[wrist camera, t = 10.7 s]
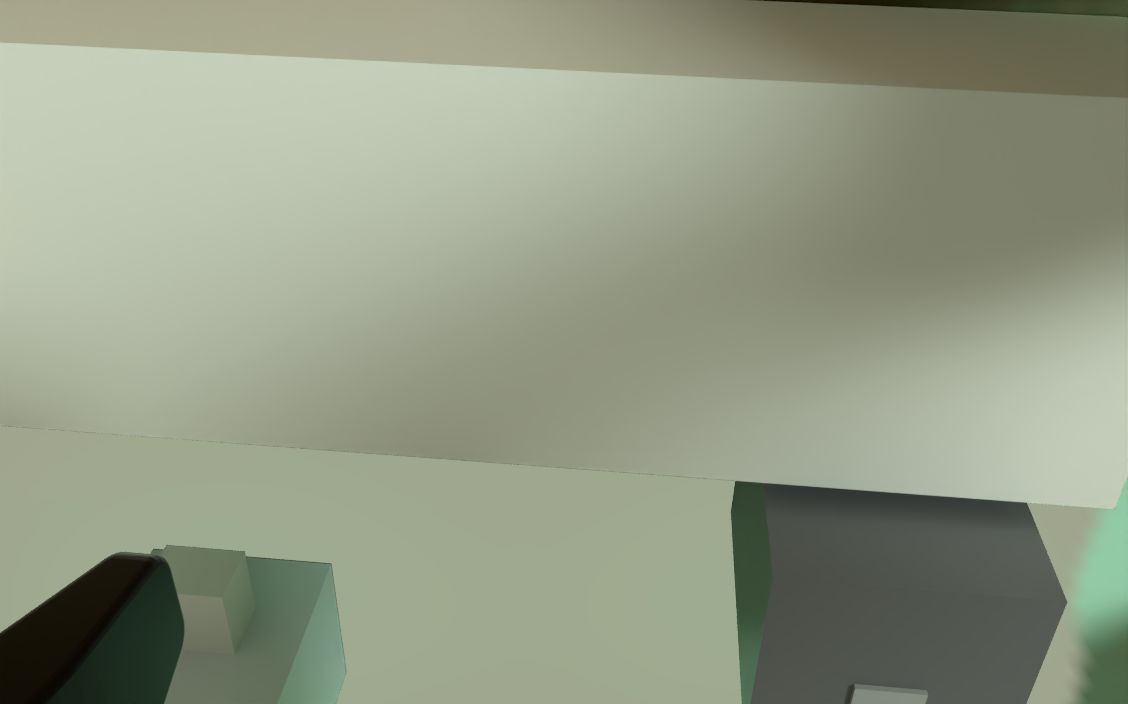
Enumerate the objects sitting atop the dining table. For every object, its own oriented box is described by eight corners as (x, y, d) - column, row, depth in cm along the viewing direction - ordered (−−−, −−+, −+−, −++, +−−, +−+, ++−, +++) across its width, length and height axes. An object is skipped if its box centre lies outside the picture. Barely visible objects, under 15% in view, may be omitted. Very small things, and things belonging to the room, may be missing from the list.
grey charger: (324, 508, 25) (232, 726, 20) (346, 671, 28) (272, 896, 23) (138, 493, 25) (2, 704, 20) (182, 657, 28) (73, 875, 23)
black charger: (999, 303, 20) (1104, 519, 15) (934, 526, 23) (1003, 767, 18) (762, 288, 21) (789, 494, 15) (730, 511, 24) (744, 743, 19)
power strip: (1162, 18, 17) (1294, 116, 13) (1045, 374, 21) (1122, 525, 17) (-129, -39, 19) (-329, 35, 15) (-16, 303, 22) (-153, 429, 19)
